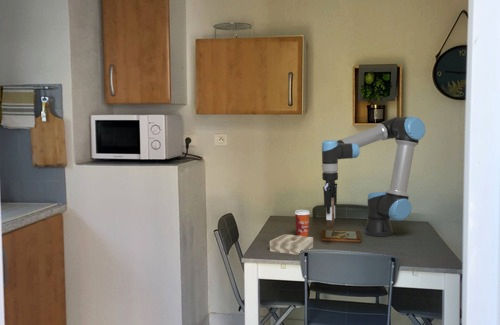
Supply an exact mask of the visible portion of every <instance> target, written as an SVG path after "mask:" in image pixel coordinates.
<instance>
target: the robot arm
mask: <svg viewBox="0 0 500 325" xmlns="http://www.w3.org/2000/svg"><path fill="white" fill-rule="evenodd" d="M425 134H426V126H425V123H424V122H423V120H422V119H421V118H419V117H416V116H395V117H392V118H390V119H387V120H384V121H382V122H379V123H377V124H376V125H375V126H374V127H371V128H369V129H365V130H363V131H360V132H358V133H355V134H352V135H349V136H347V137H344V138H341V139H337V140H334V139H332V140H323V141H322V143H321V163H322V164H321V167H322V174H321V175H322V177H321V178H322V181H325V183H324V186H323V187H322V189H323V190H322V191H323V205H324V207H325V212H326V215H325V216H326V217H325V218H326V219H325V220H326V221H327V220H332V207H331V198H332V197H334V220H335V219H336V206H337V205H338V203H337V202H338V201H337V200H338V196H337V195H338V192H337V191H338V190H337V189H338V182H337V183H336V181H337V180H338V179H339V173H338V171H339V165H338V164H339V163H338V161H339V160H347V159H351V160H353V159H356V158H358V157H359V156H360V152H361V150H360V148H362V147H365V146H368V145H370V144H373V143H376V142H378V141H386V140H390V139H395V140H394V141H395V143H396V144H397V146H396V152H395V158H394V162H393V169H392V175H391V180H390V186H389V190H387V191H376V192H375V191H373V192H370V193H368V194H367V221H366V223H365V226H364V231H363V232H364V234H365V235H367V236H371V237H390V236H393V234H394V232H393V231H394V230H393V227H392V226H393V225H392V224H391V221H390V219H391V220H393V221H404V220H405V219H407V218H408V217H409V216H410V215H411V212H412V208H413V207H412V204H411V202H410V200H409V197H410V195H409V194H408V192H407V191H408V186H409V179H410V174H411V168H412V163H413V157H414V152H415V148H416V147H417V146H418V145H419V142H420V140H421V139H423V138H424V136H425Z"/></svg>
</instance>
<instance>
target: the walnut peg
mask: <svg viewBox="0 0 500 325" xmlns="http://www.w3.org/2000/svg"><path fill="white" fill-rule="evenodd" d="M331 207H332V220H326V221H327V222H326V226H327V229H335V219H334V197H332V198H331Z"/></svg>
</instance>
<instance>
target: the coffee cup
mask: <svg viewBox="0 0 500 325" xmlns="http://www.w3.org/2000/svg"><path fill="white" fill-rule="evenodd" d="M294 215H295V216H294V217H295V230H296V235H297V236H306V237H309V235H310V234H309V233H310V232H309V229H310V215H311V213H310V210H309V209H297V210H295V212H294Z"/></svg>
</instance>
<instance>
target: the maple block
mask: <svg viewBox="0 0 500 325" xmlns="http://www.w3.org/2000/svg"><path fill="white" fill-rule="evenodd" d="M313 248H314V237H313V236H308V237H306V236H297V234H296V235H295V234H287V233H284V234H282V235H280V236H277V237H275V238H273V239H271V240H269V251H270V252H273V253H282V254H288V255H296V256H297V255H298V256H300V255H299V253H300V251H301V250H305V249H309V250H311V249H313Z"/></svg>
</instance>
